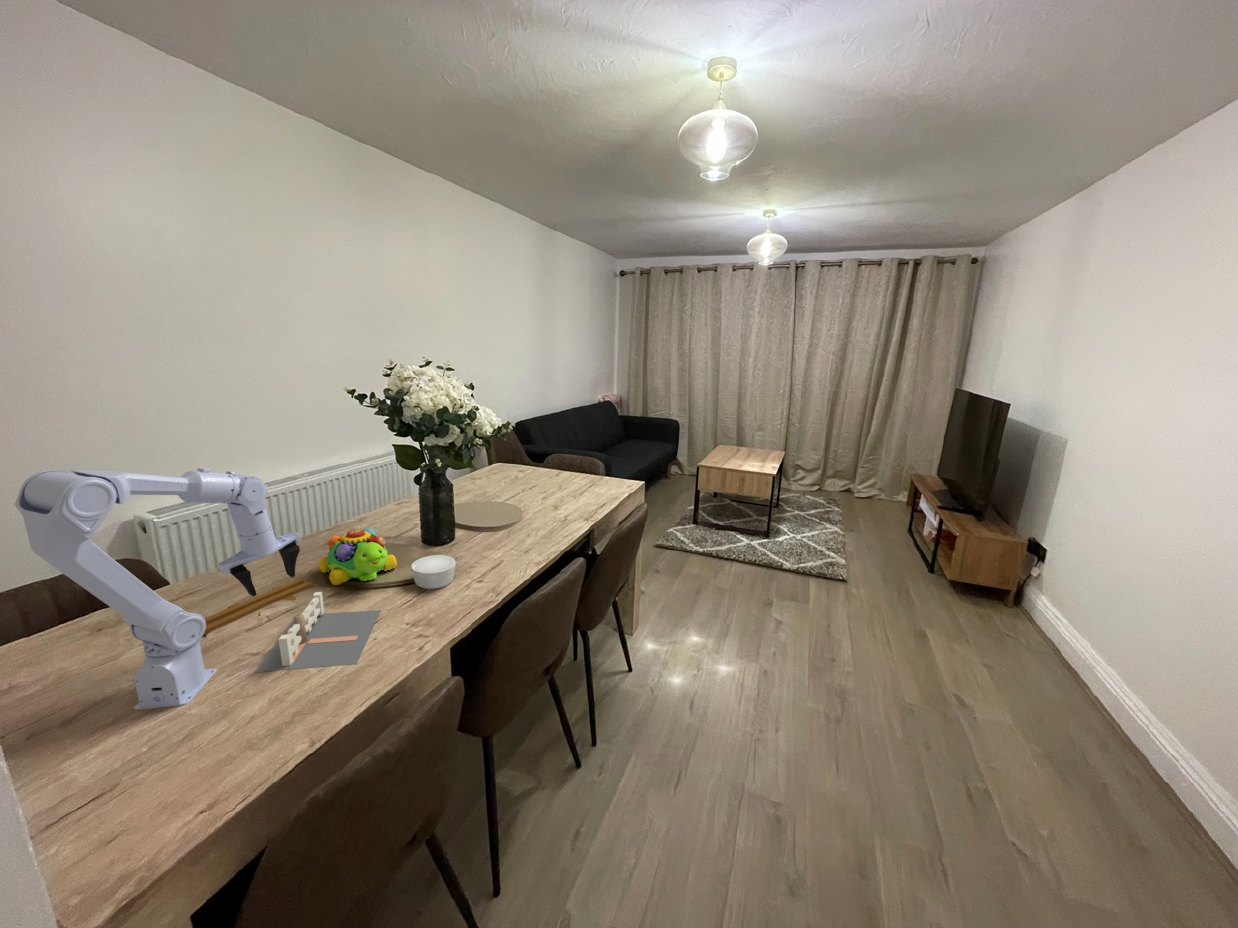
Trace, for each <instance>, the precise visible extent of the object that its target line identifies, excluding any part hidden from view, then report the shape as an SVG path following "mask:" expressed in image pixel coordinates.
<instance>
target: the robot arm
mask: <svg viewBox="0 0 1238 928" xmlns="http://www.w3.org/2000/svg"><path fill="white" fill-rule="evenodd" d="M70 472H71V473H69V472H66V471H63V470H58V469H48V470H47V469H46V470H42V471H39V472H36V473H34V474H32V475H30V476H29V477H28V478H27V479H25V480H24V482H23V483H22V485H21V486H20V489H19V492H18V493H17V497H16V499H15V503H14V506H15V507H16V509H17V510H18V511H19V513H20V514H21V515H22V517H23V521H24V525H25V529H26V530H25V531H26V534H27V537H28V542H29V545H30V549H31V550H32V552H33V553H34V554H35V555H37V556H38V557H39V558H40V559H42V560H43V561H44V562H46V563H47V564H49V565H50V566H52V567H53V568H55V569H56V570H58V571H59V572H60V573H61V574H63V575H65V576H66V577H67V578H68V579H70V580H72V581H73V582H75V583H76V584H77V585H79V586H80V587H81V588H83V589H85V590H86V591H87V592H89V593H90V594H91V595H93V596H94V597H96V598H97V599H98V600H100V601H101V602H102V603H104V604H106V605H107V606H108V607H110V608H111V609H113V610H114V611H115V612H117V613H118V614H120V615H121V616H122V618H121V619H122V622H124V623H125V624H127V625H128V627H129V631H130V634H131V636H132V637H133V638H134V639H136V640H138V641H141V642H142V647H143V651H144V652H143V653H144V658H143V662H142V664H141V665H140V667H139V668H138V670H137V671H136V672H135V674H134V676H133V677H134V678H133V682H134V687H135V691H136V694H137V695H136V696H137V700H138V702H137V704H136V705H135V706H134V707H133V708H134V710H145V709H156V708H167V707H178V706H187V705H188V704H189V703H191V701H193V699H194V698H195V697H196V695H197V694H198V693H199V692H200V691H201V690H202V689H203V688H204V686H206V683H208V682H209V680H211V678H212V677H213V676H214V675H215V673H217V671H218V669H217V668H205V664H204V659H203V653H202V648H201V639H202V637H203V636H204V635H203V634H204V632H205V629H206V621H205V619H204V618H205V617H203V615H201V614H199V613H194V612H189V611H185V610H184V608H182V607H181V606H179V605H176V604H174V603H172V602H170V601H168V600H166V599H164V598H163V597H162V596H160V595H159V594H158V593H156V591H154V590H153V589H152V588H151V587H149V586H148V585H147V584H145V583H144V582H143V581H142V580H140V579H139V578H137V577H136V576H135V575H134V574H133V573H131V572H130V571H129V570H128V569H127V568H125V567H124V566H123V565H121V563H119V562H117V561H116V559H114V558H113V557H111V556H110V555H109V554H107V552H105V551H104V550H103V549H101V548H100V547H99V546H97V544H95V543H93V542H92V538H93V535H94V534H95V533H96V531H98V529H99V527H100V526H101V524H102V523H103V522H104V521H105V519H106V518H107V516H108V515H109V513H110V512H111V511H112V510H113V507H114V506H115V504H118V505H122V504H124V503H125V502H126V501H127V499H128V498H129V497H131V496H135V495H136V496H138V495H139V496H143V495H146V496H147V495H148V496H158V495H159V496H178V498H179V499H180V500H181V501H183V502H184V503H189V504H190V503H191V504H226V505H227V507H228V510H229V513H230V514H229V515H230V517H231V519H232V523H233V525H234V529H235V531H236V534H237V537H238V540H239V543H240V546H241V548H242V549H241V550H240V551H238V552H236V553H235V554H233V555H232V556H230V557H228V558H227V559H225V560H223V561H221V562H217V566H218V569H219V571H220V572H221V573H222V574H223V575H228V574H231V576H233V577H234V578H235V579H237V580H238V581H239V582H240V584H242V586H243V588H245V591H246V592H247V593H248V594H249V595H250V596H251V597H256V596H258V595H257V591H256V588H255V586H254V583H253V579H252V574H251V570H249V569H248V568H247V567H246V566H245V565H247V564H249V563H252V562H253V561H257V560H260V559H263V558H266V557H269V556H271V555H273V554H275V553H276V552H277V551H278V552H279V554H280V557H281V559H282V562H283V567H284V570H285V573H286V575H287V576H289V577H290V578H292V579H293V578H295V577H296V564H297V559H298V556H299V554H300V552H301V549H300V545H298V544H299V543H302V538H301V535H300V533H298V532H297V531H293V532H290V533H287V534H284V535H279V536H275V533H274V530H273V526H272V523H271V521H270V520H271V519H270V517H269V513H268V510H267V507H266V506H267V502H266V497H267V494H268V490H269V489H268V485H267V484H265V483H264V482H263V481H262V480H261V479H260V478H259V477H257V476H252V475H247V474H240V473H237V472H235V471H229V470H228V471H226V472H225V473H223V472H213V471H212V472H211V469H210V468H205V467H198V468H197V469H196V470H189V471H186V472H184V473H183V474H182V475H180V476H173V475H172V476H171V475H161V474H153V473H152V474H150V473H142V472H141V473H140V472H131V471H122V470H121V471H119V470H108V469H107V470H105V469H104V470H103V469H102V470H99V469H74V470H70ZM73 473H74V474H73Z"/></svg>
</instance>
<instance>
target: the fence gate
mask: <svg viewBox="0 0 1238 928" xmlns="http://www.w3.org/2000/svg"><path fill="white" fill-rule="evenodd" d="M324 606H325V605H324V597H323V592H322V591H315V592H314V593H313V595H312V599H311V601H310V602H309V604H308V605H307V606H306V608H305V609H304V610H303V612H302V613H301V614H300V615H304V620H305V628H306V633H307V632H310V631H311V629H312V628H311V625H312V624H315V623H316V622H317V616H319V615H323V614H325V609H324V608H325V607H324Z"/></svg>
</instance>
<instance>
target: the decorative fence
mask: <svg viewBox="0 0 1238 928" xmlns="http://www.w3.org/2000/svg"><path fill="white" fill-rule="evenodd" d="M312 587H314V584H313V582H310V581H306V582H305V580H304V579H302V578H300V577H299V578H297V579H295V580H293V581H290V582H288V583H286V584H283V585H280V586H278V587H275V588H274V587H273V588H272V589H271V590H269V591H266V592H264V593H262V594H259V595H256V596H253V597H252V598H249V599H248V600H246V601H242V602H240V603H239V602H236V603H233V604H231V605H228V608H226V609H224V610H220V611H219V612H217V613H214V614H212V615H209V616H206V617H203V618H204V619H205V621H206V629H205V632H204V634H203V636H205V637H207V636H208V635H209V634H210V633H211V632H214V631H215V630H218V629H221V628H222V627H225V626H227V625H229V624H231V623H233V622H236V621H238V620H240V619H242V618H244V617H246V616H249V615H251V614H253V613H255V612H257V611H258V610H261V609H263V608H265V607H267V606H269V605H272V604H274V603H276V602H279V601H281V600H286V601H293V602H294V601H296V600H297V597H296V596H295V594H298V593H301V592H303V591H305V590H307V589H310V588H312ZM260 616H261V612H260V611H259V612H258V614H257V616H256V617H257V618H258V617H260Z"/></svg>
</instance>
